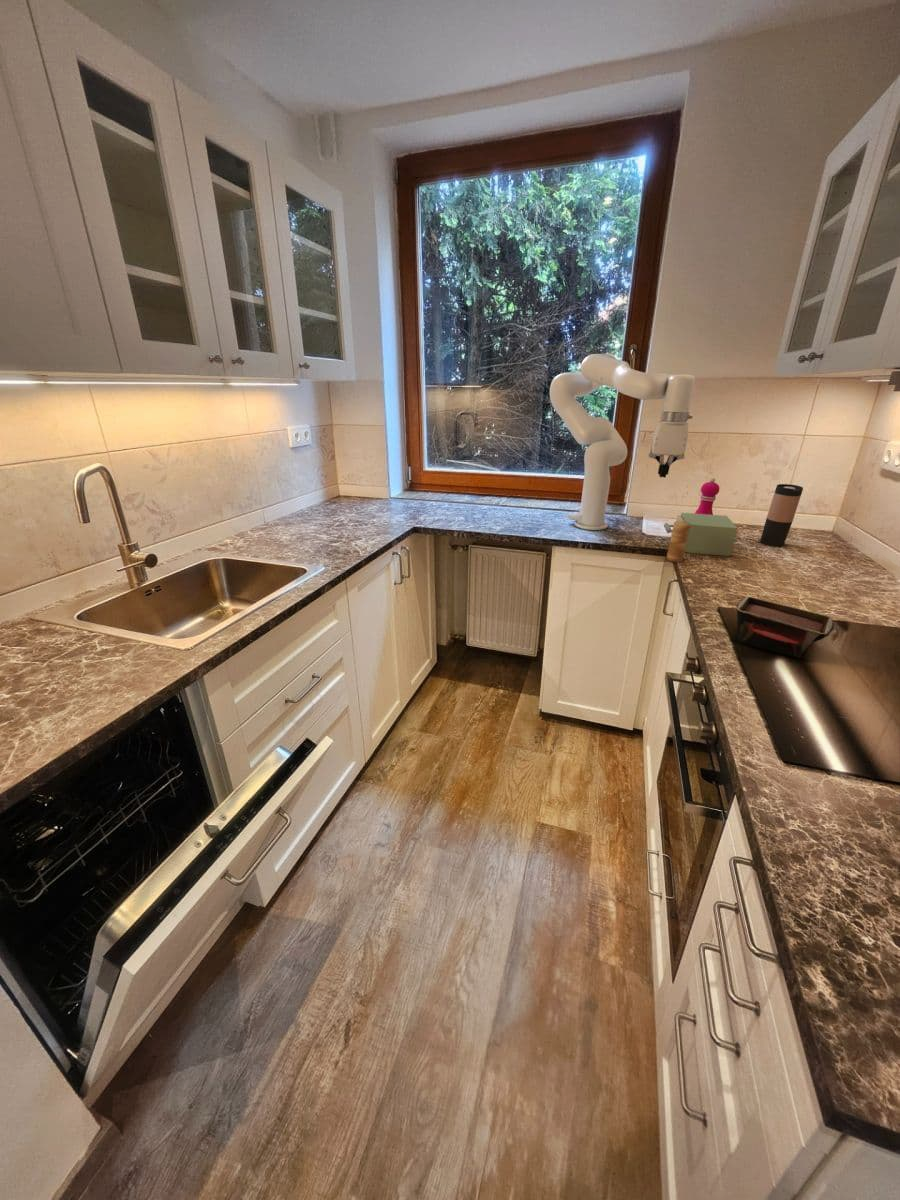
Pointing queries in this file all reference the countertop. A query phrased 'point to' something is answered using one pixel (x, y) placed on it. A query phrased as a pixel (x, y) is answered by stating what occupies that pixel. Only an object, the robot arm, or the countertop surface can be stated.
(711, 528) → the cabinet
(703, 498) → the pepper mill
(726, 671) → the countertop surface
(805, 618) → the baking dish
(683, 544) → the cork textured cylinder
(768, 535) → the travel mug
